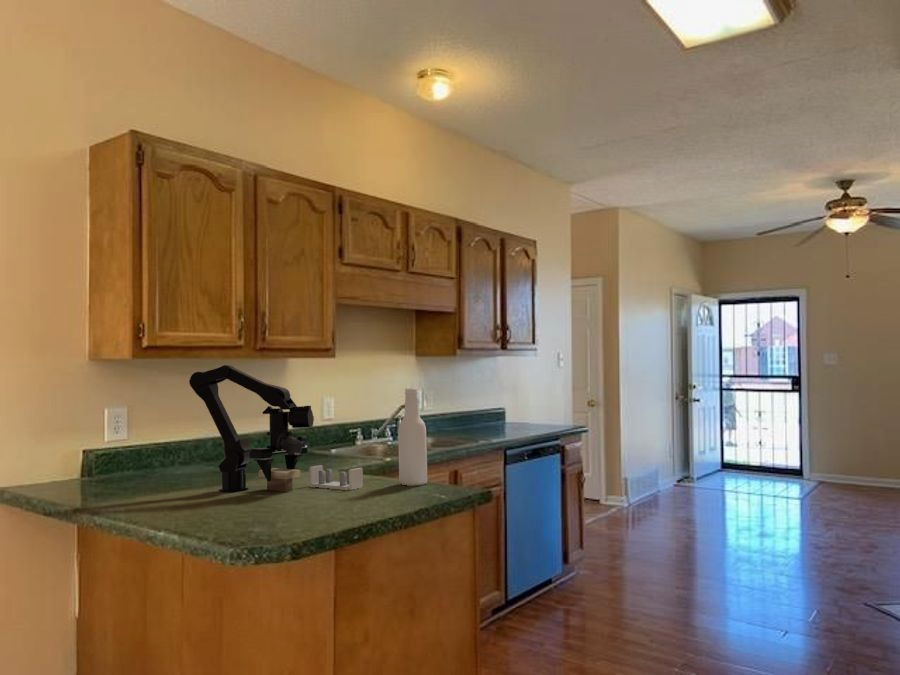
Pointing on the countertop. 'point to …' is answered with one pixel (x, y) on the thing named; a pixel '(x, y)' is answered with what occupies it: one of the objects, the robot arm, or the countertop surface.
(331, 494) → the countertop surface
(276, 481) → the block
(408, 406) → the alcohol
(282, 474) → the shelf board
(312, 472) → the peg frame
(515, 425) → the countertop surface
